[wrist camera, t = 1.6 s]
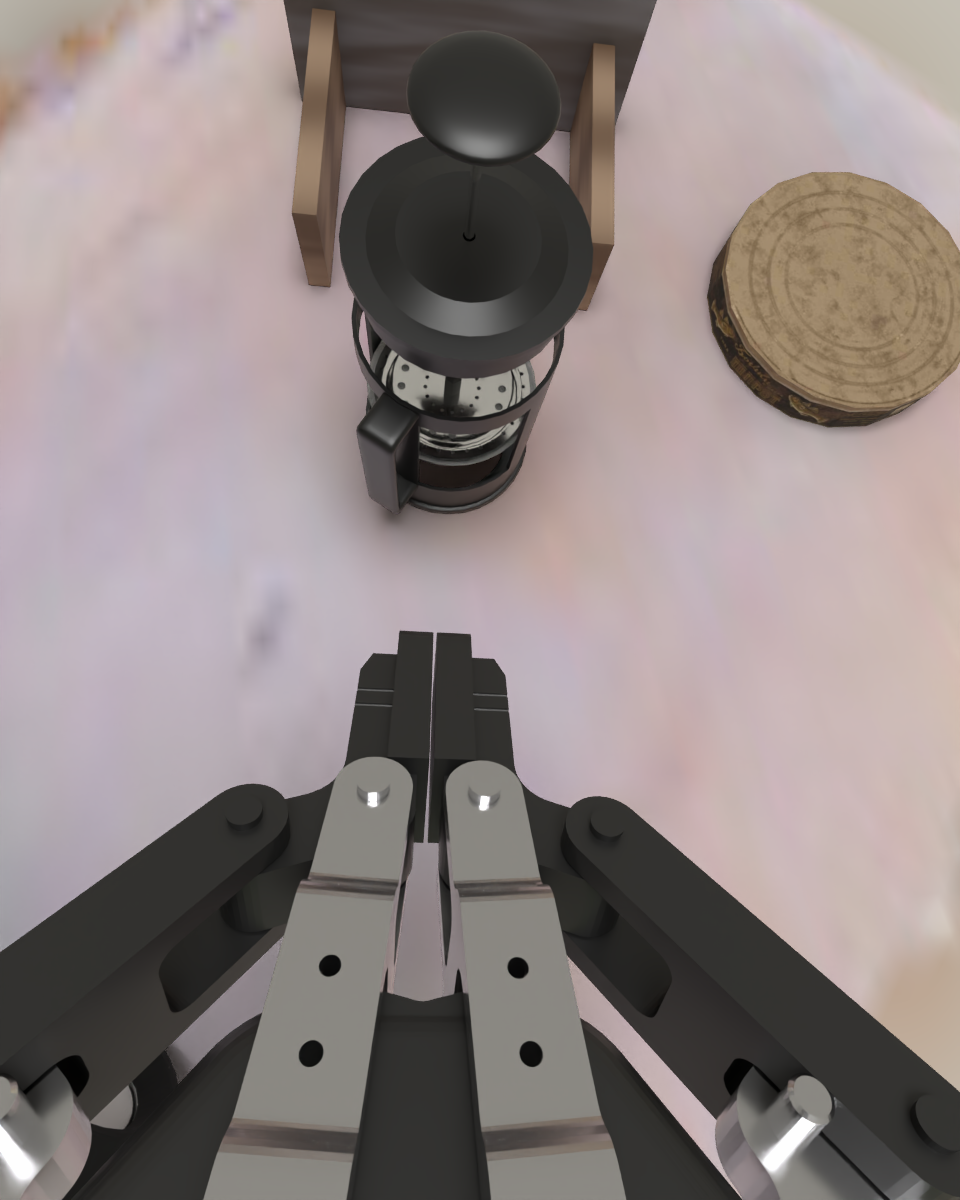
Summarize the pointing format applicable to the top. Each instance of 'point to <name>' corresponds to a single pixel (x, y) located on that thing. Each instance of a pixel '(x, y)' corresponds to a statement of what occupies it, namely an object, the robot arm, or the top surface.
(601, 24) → the docking bay
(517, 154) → the french press
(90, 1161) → the portable speaker
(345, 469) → the top surface
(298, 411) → the top surface
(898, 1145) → the robot arm
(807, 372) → the wood slice
